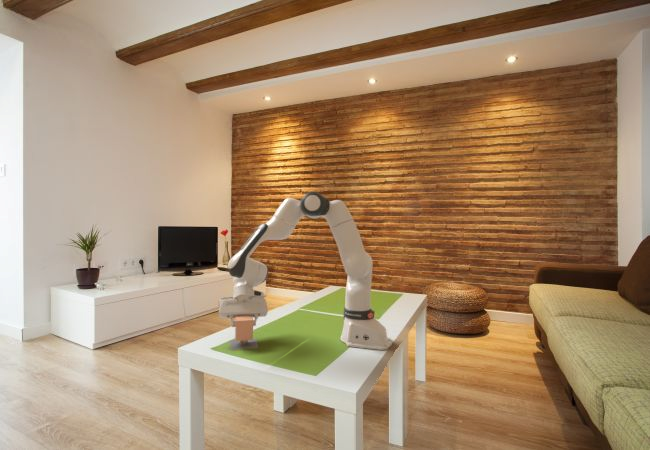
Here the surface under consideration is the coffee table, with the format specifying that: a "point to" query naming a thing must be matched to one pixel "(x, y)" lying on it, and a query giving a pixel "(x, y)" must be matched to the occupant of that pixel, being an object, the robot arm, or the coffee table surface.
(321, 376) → the coffee table surface
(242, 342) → the tan rounded cylinder
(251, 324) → the peach foam cube
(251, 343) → the mat
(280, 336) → the coffee table surface
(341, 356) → the coffee table surface
